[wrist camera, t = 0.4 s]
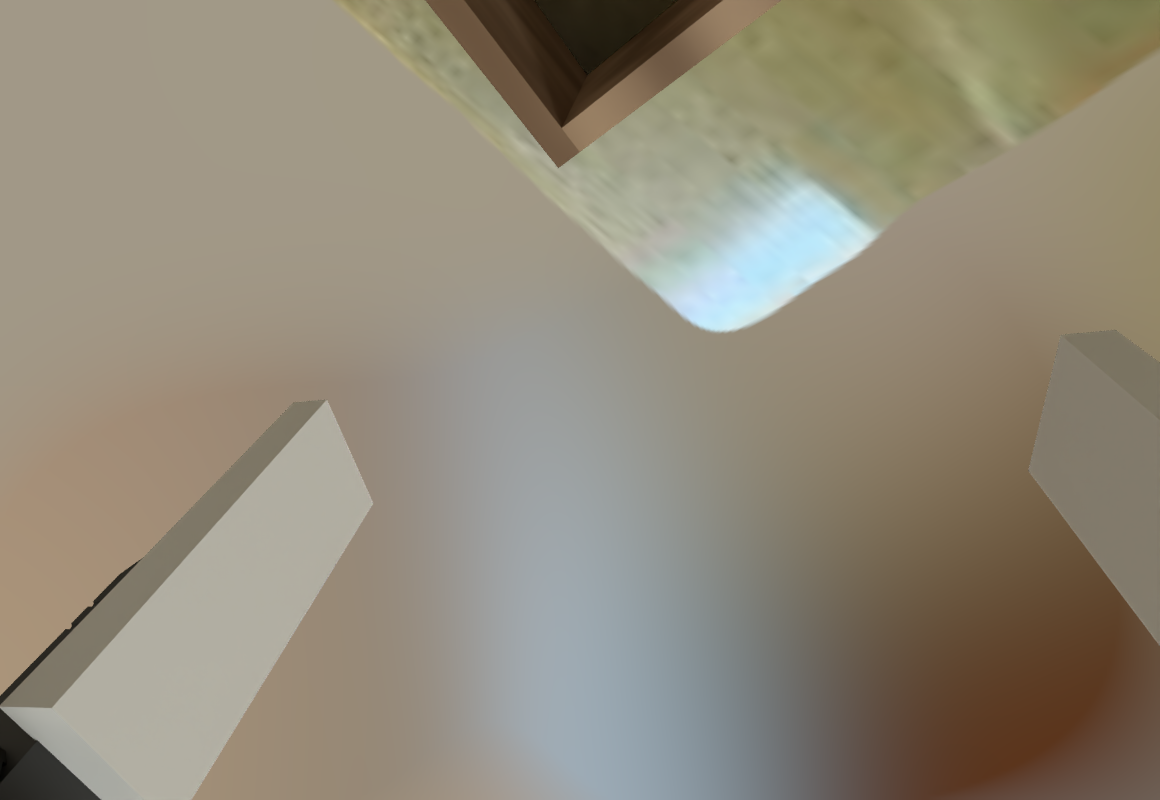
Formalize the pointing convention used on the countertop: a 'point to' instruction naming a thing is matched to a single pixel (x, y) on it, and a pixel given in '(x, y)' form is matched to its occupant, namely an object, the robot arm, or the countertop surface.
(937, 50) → the countertop surface
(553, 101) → the box
